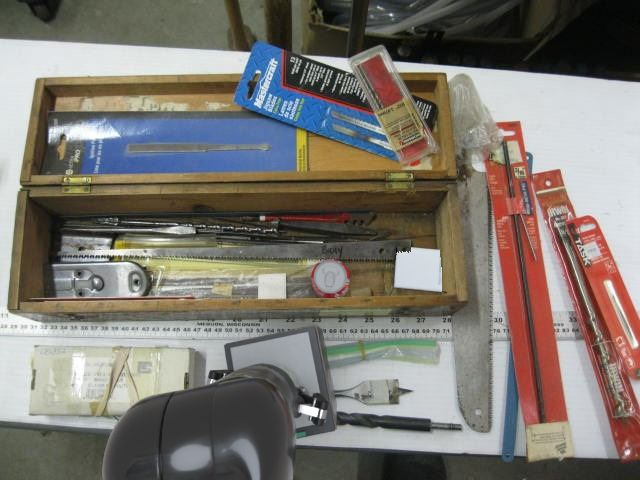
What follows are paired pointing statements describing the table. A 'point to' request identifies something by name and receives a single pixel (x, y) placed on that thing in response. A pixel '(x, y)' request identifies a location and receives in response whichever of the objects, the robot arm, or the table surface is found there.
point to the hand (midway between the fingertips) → (277, 388)
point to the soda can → (330, 279)
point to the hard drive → (418, 270)
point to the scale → (288, 366)
